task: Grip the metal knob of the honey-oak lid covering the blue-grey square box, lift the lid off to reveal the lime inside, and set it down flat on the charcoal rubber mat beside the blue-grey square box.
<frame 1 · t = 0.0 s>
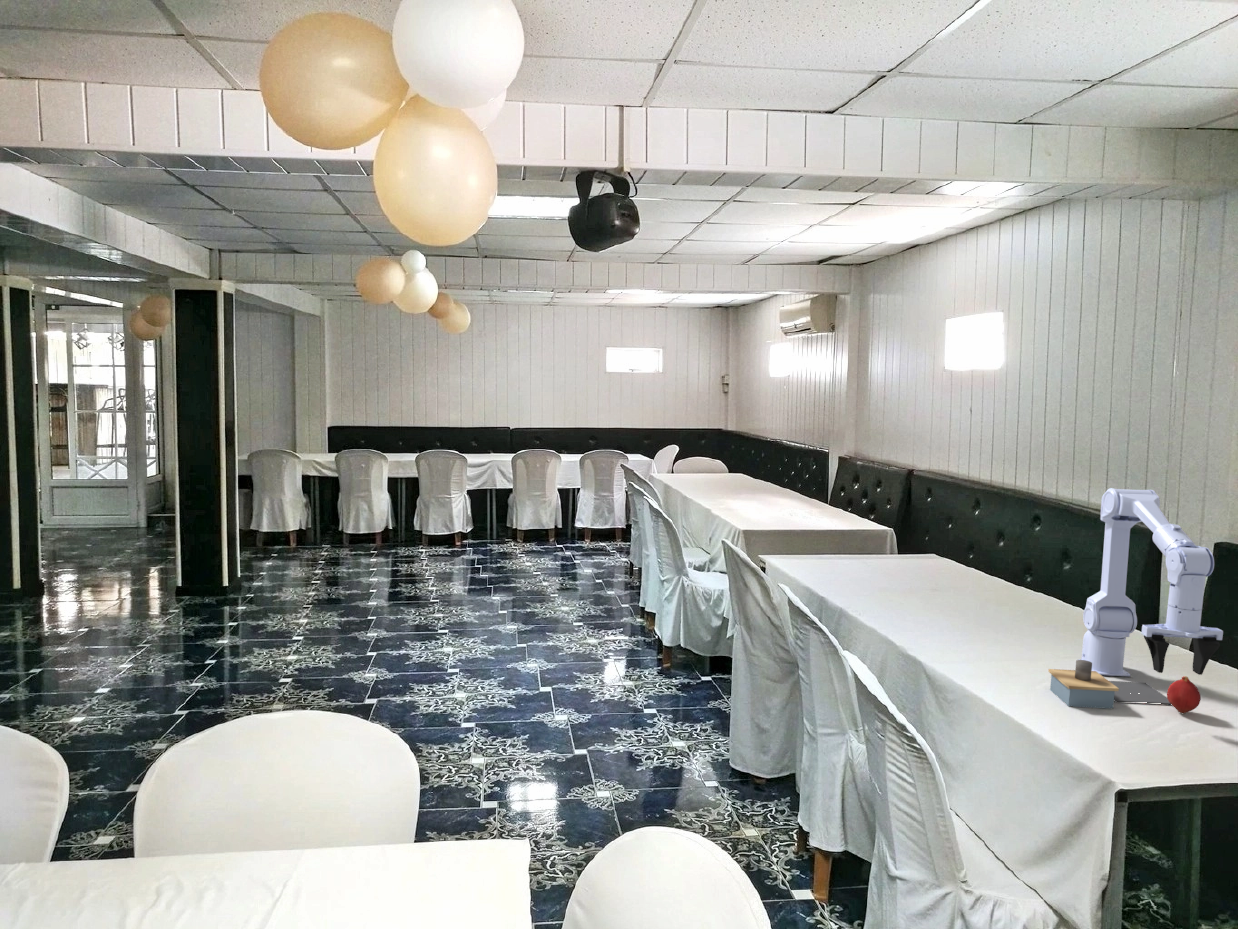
hand: (1177, 672, 171), 10 cm above the table, tool pointing down, fingers open, 7 cm apart
mat: (1131, 693, 187), on the table
pomegranate: (1181, 714, 176), on the table
blue-grey square box: (1080, 699, 183), on the table
lid: (1082, 681, 182), point 4 cm above the table, touching blue-grey square box
lime: (1081, 689, 182), point 2 cm above the table, touching blue-grey square box
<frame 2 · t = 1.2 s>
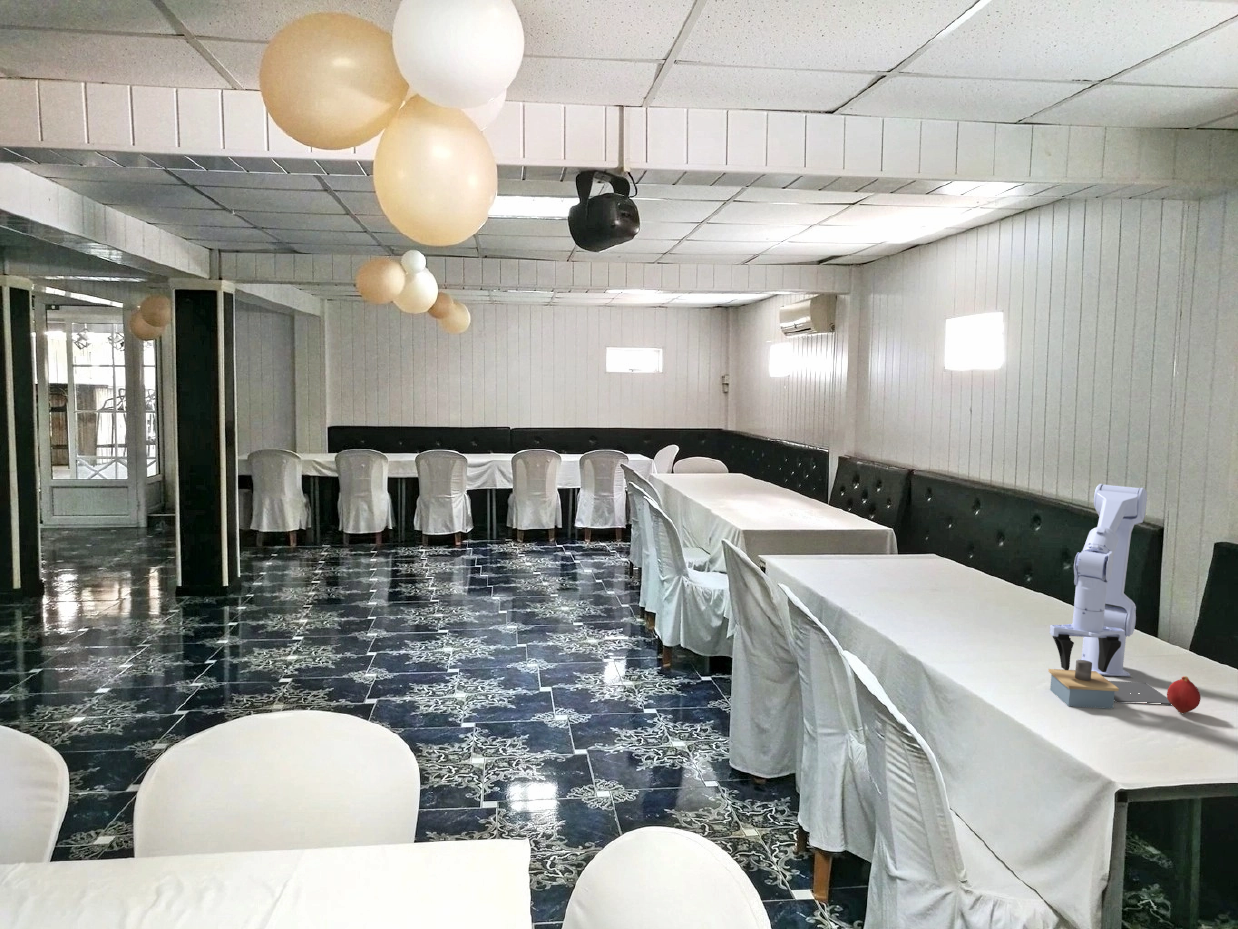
hand: (1083, 669, 182), 7 cm above the table, tool pointing down, fingers open, 7 cm apart
nothing on the table moved.
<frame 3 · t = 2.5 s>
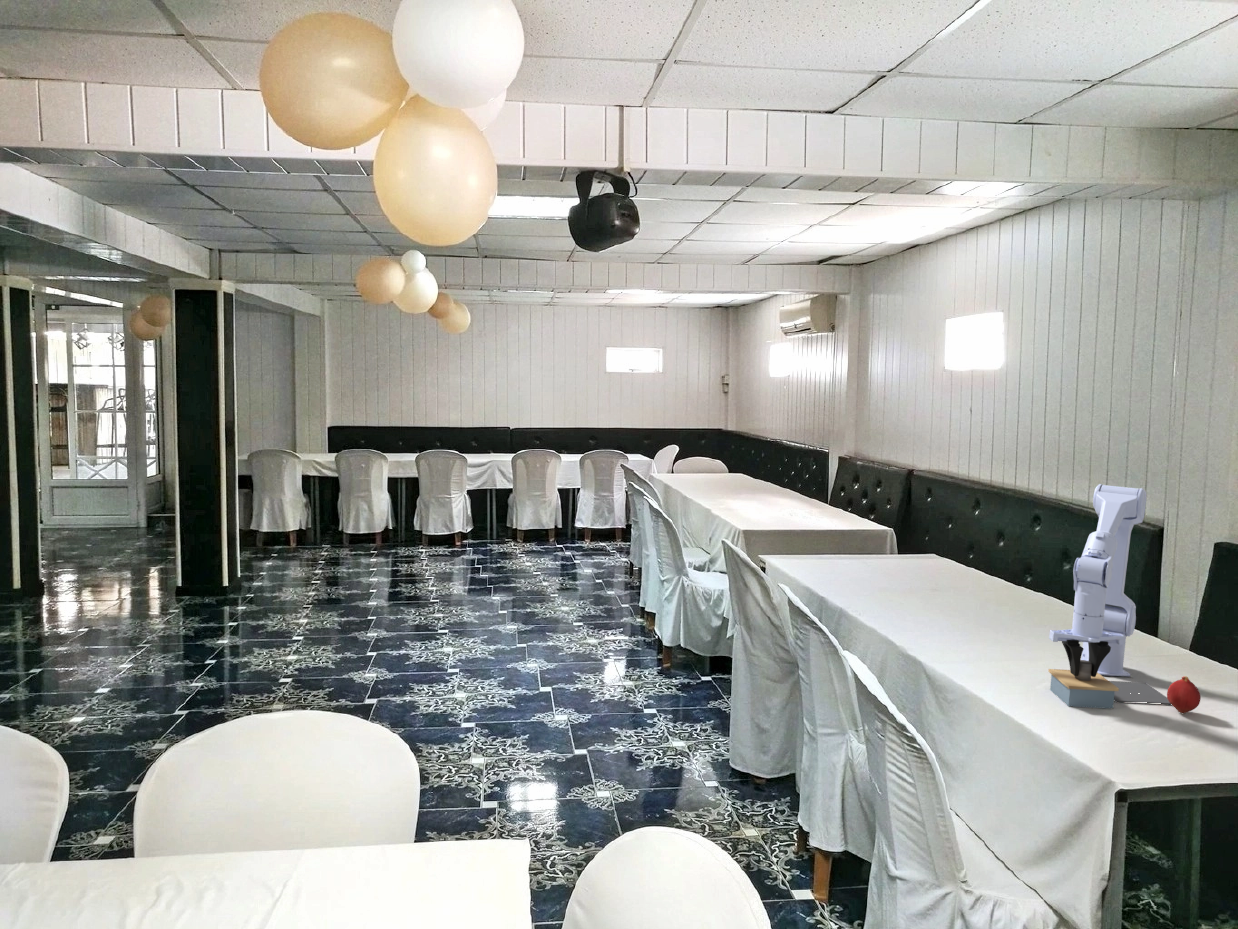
hand: (1083, 674, 182), 5 cm above the table, tool pointing down, fingers closed on lid, 3 cm apart
lid: (1082, 681, 182), point 4 cm above the table, touching blue-grey square box, gripper
everything else where it was.
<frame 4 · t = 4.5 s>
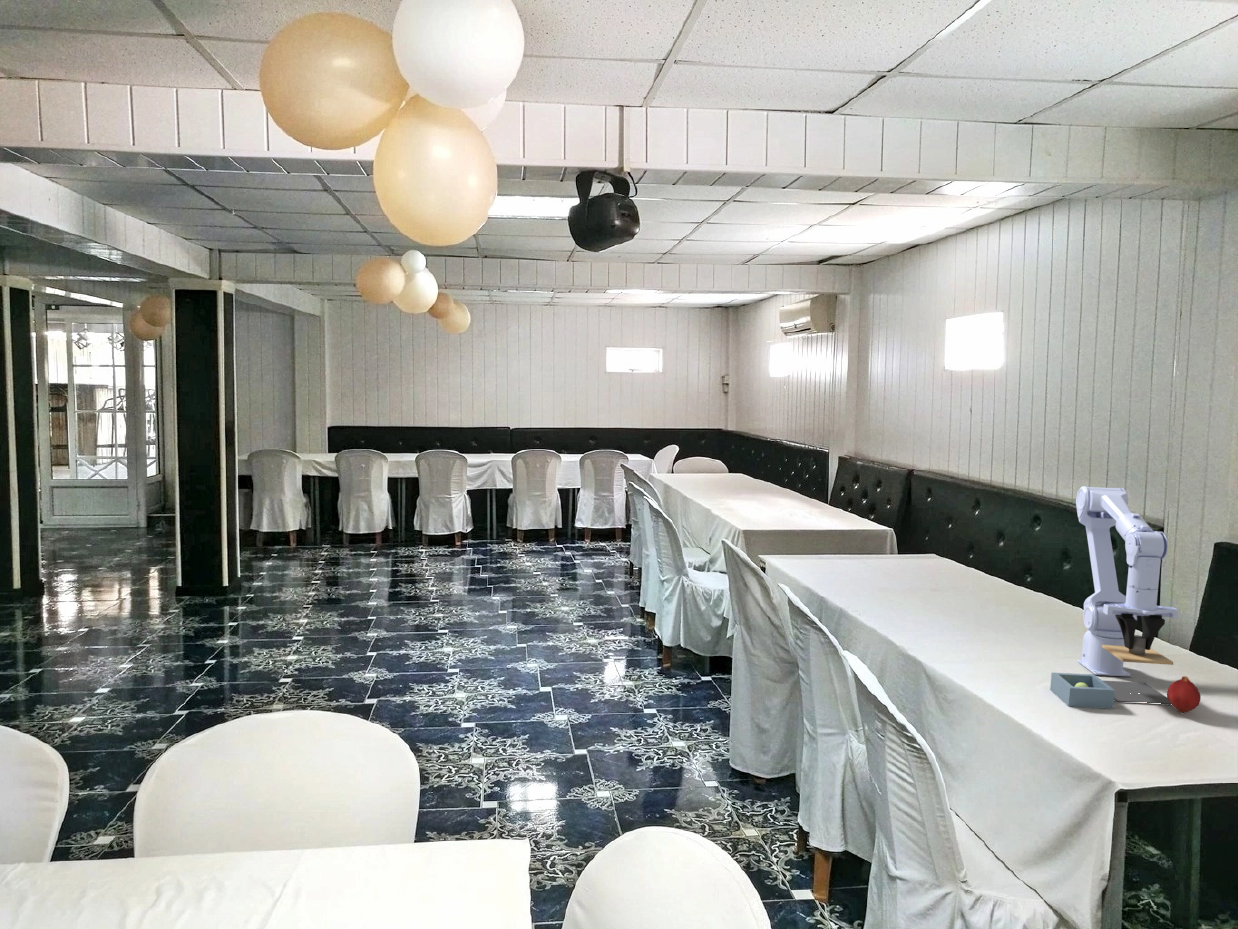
hand: (1137, 648, 185), 10 cm above the table, tool pointing down, fingers closed on lid, 3 cm apart
lid: (1136, 655, 185), point 9 cm above the table, touching gripper
everything else where it was.
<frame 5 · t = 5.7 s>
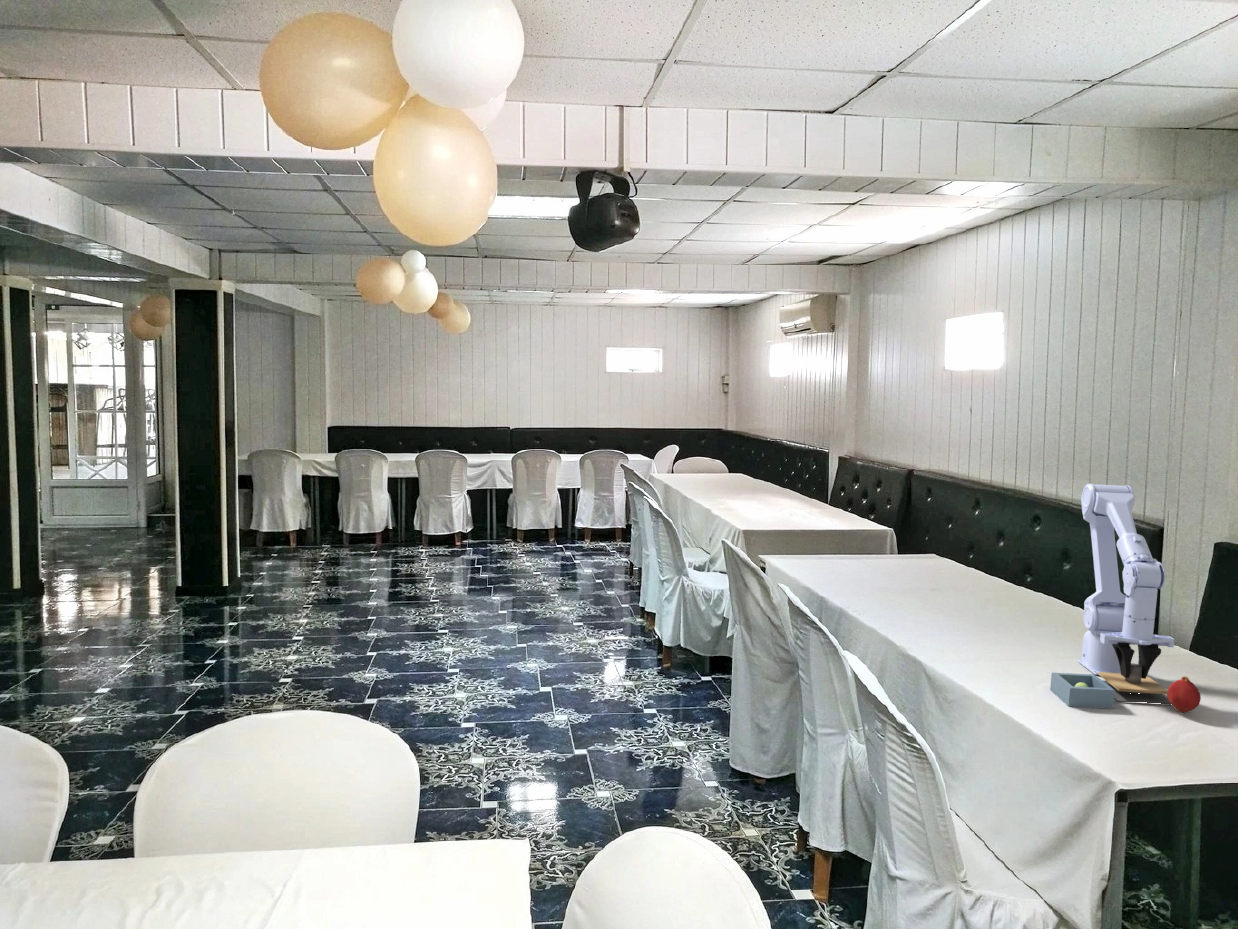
hand: (1133, 676, 186), 4 cm above the table, tool pointing down, fingers closed on lid, 3 cm apart
lid: (1132, 684, 186), point 2 cm above the table, touching gripper
everything else where it was.
when the fingers open (3 cm above the table, at t = 6.6 s): lid stays where it is, resting on mat.
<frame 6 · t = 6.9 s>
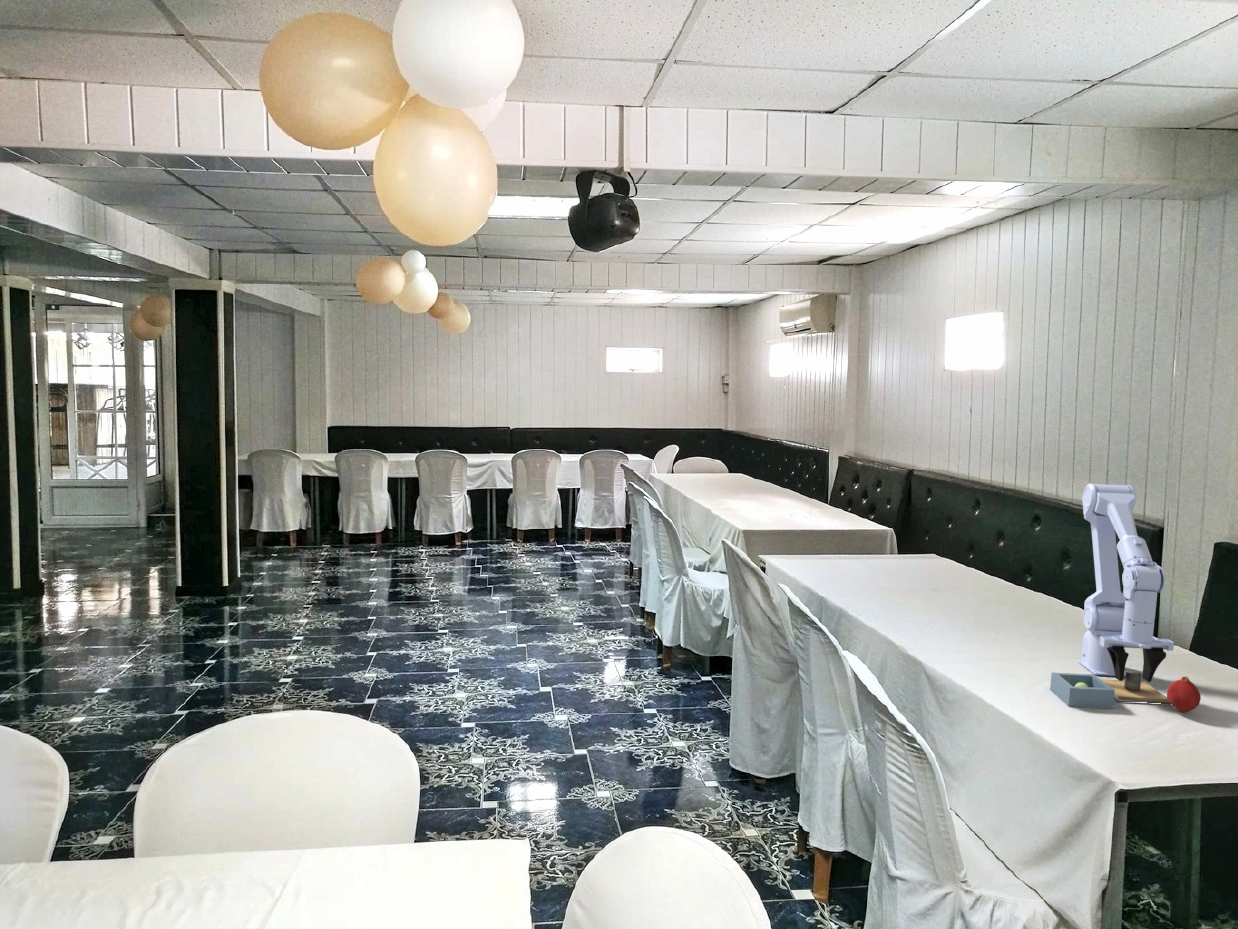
hand: (1132, 680, 186), 3 cm above the table, tool pointing down, fingers open, 5 cm apart
lid: (1131, 691, 186), resting on mat
everything else where it was.
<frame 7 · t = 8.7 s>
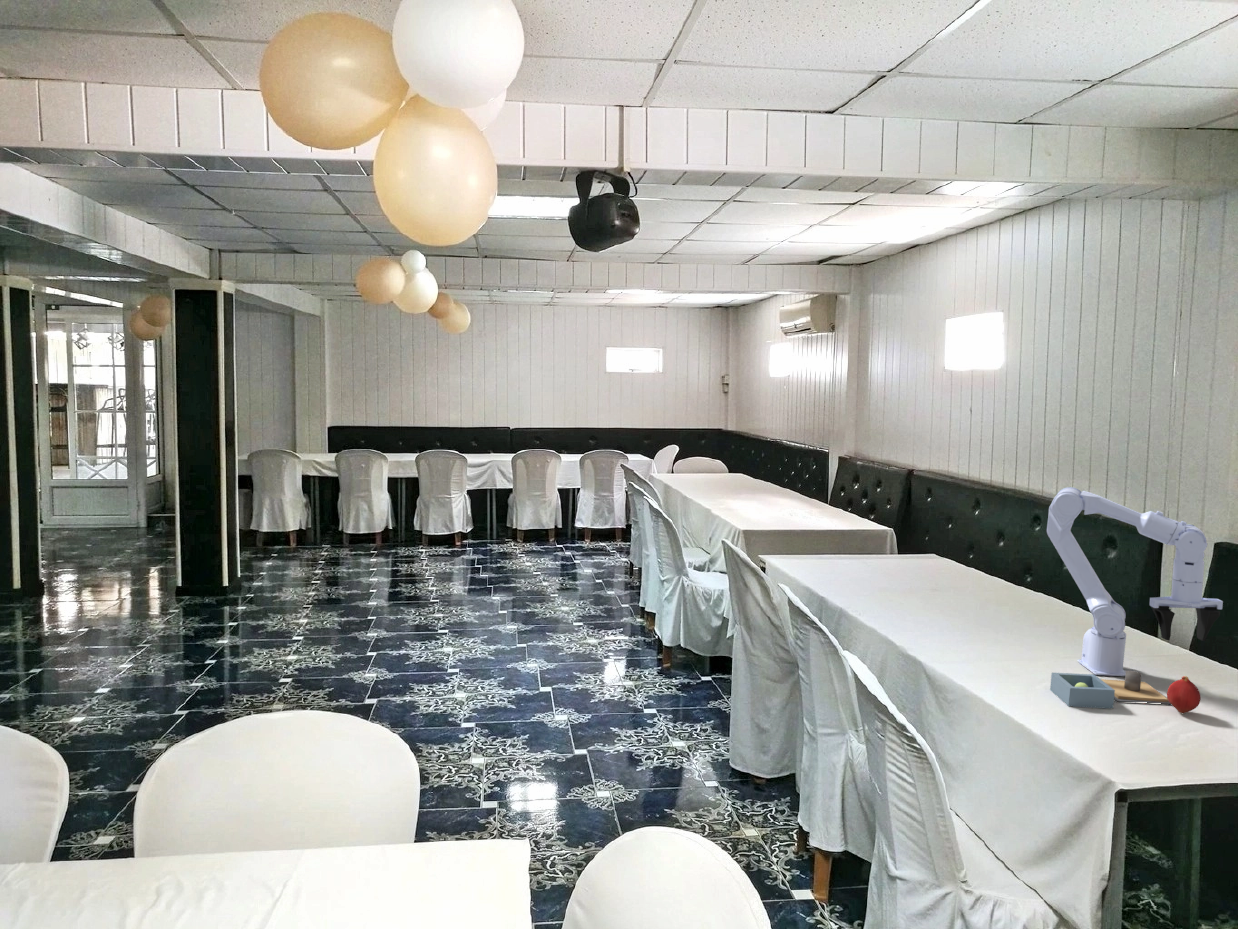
hand: (1183, 639, 192), 10 cm above the table, tool pointing down, fingers open, 7 cm apart
nothing on the table moved.
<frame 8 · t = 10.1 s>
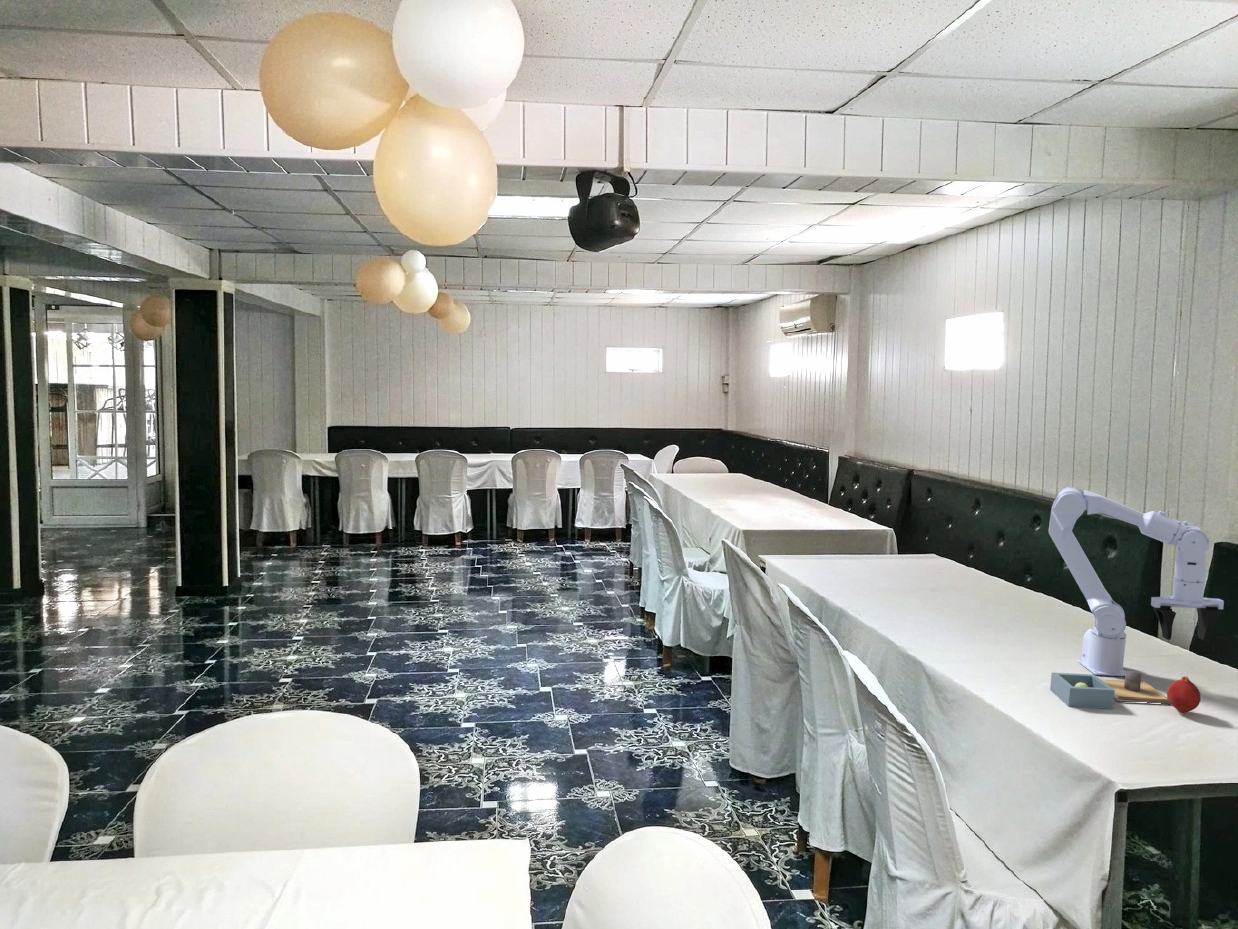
hand: (1184, 638, 192), 10 cm above the table, tool pointing down, fingers open, 7 cm apart
nothing on the table moved.
at the end: lid 0.1 cm off-centre on the mat, point 0.4 cm above the mat's base; lid tilted 0°; the gripper is holding nothing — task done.
